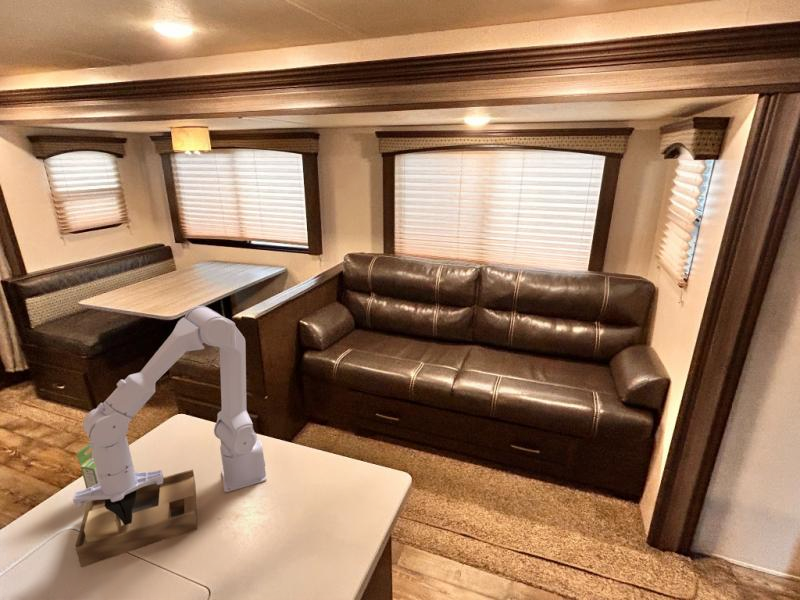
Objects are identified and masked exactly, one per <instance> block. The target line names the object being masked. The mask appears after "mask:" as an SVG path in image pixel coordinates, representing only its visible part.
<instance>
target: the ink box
mask: <svg viewBox="0 0 800 600" xmlns="http://www.w3.org/2000/svg"><path fill="white" fill-rule="evenodd" d="M89 449H91V446H90V443H88V444H87V445H86V446H84V447H83V448H81V449H80V450H79V451H77V452H76V455H77V459H78V463H79V466H80V470H81V474H82V477H83V482H84V485H85V489H87V488H90V487H92V486H94V485H96V484H99V483H100V482H99V478H98V475H97V471H96V467H95V464H94V460H93V456H92V450H91V451H89V452H88V453H87V451H88V450H89ZM86 453H87V454H86ZM85 454H86V455H85Z"/></svg>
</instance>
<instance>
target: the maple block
mask: <svg viewBox="0 0 800 600" xmlns="http://www.w3.org/2000/svg"><path fill="white" fill-rule="evenodd" d="M121 525H122V521H121V519H120V518H119V517H118V516H117V515H116V514H115V513H113V512H112V511H110V510H108V509H106V508H105V507H102V508H99V509H95V510H92V511H89V513H88V517H87V521H86V524H85V528H84V532H85V536H86V539H87V543H92V542H95V541H98V540H101V539H105V538H108V537H111V536H114V535H118V534H120V531H121Z"/></svg>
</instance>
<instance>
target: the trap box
mask: <svg viewBox="0 0 800 600" xmlns="http://www.w3.org/2000/svg"><path fill="white" fill-rule="evenodd" d="M194 474H195V473H194V469H190V470H185V471H181V472H178V473H174V474H171V475H167V476H163V483H162V484H159V485H157V483H155V484H151V485H148V486H144V487H141V488H139V489H137V494H136V499H135V502H134V505H133V508H132V515H133V517H132V523H130V524H127V525H124V524H123V522H122V525H121V531H120V534H118V535H114V536H111V537H108V538H105V539H101V540H98V541H95V542H92V543H87V539H86V536H85V532H84V528H85V524H86V521H87V517H88V513H89V511H92V510H95V509H99V508H102V507H105V499H102V500H93V501H90V502H86V506H85V510H84V514H83V517H82V520H81V521H82V522H81V524H80V528H79V532H78V535H77V540H76V541H75V549H74V550H75V552H76V555H77V558H78V562H79V565H80V568H84V567H86V566H89V565H93V564H96V563H98V562H102V561H104V560H107V559H111V558H114V557H117V556H119V555H122V554H126V553H129V552H133V551H135V550H139V549H141V548H144V547H148V546H151V545H153V544H156V543H161V542H162V541H165V540H170V539H171V538H175V537H178V536H181V535H184V534H186V533H190V532H194V531H196V530H198V519H197V518H198V515H197V514H198V513H197V511H198V510H197V490H196V489H197V488H196V487H197V485H196V480H195V479H196V478H195V475H194Z"/></svg>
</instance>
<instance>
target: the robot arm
mask: <svg viewBox="0 0 800 600" xmlns="http://www.w3.org/2000/svg"><path fill="white" fill-rule="evenodd" d="M203 344H206V345H208V346H209V347H210V346H211V347H216V348H219V363H220V364H219V368H220V372H219V373H220V395H221V397H220V398H221V401H220V402H221V403H220V404H221V410H220V411H218V413H217V419H216V423H215V425H214V427H213V433H214V435H215V437H216V438H217V439H219V440H220V445H219V448H220V456H221V462H222V470H221V474H222V483H223V491H224V493H229V492H234V491H237V490H239V489H243V488H246V487H249V486H253V485H256V484H259V483H262V482H265V481H267V475H266V474H267V472H266V460H265V456H264V449H263V445H262V440H261V438H260V439H259V438H257V433H256V432H255V430H254V425H253V424H254V423H253V422H252V419H251V417H250V415H249V413H248V410H247V365H246V363H247V359H246V357H247V355H246V354H247V353H246V350H247V349H246V338H245V336H243V333H241V331H240V330H239V329H238V328H237V326H236V323H235V322H234V321H232V320H231V319H229V318H226V316H222V314H220V313H218V312H217V311H215V310H213V309H212V308H211V307H210V308H209V307H207V306H204V305H197V306H194V307H192V308H190V309H189V310H188V311H187V312H186V314H185V315H184V317H182V318H180V319H179V320H178V321H177V323H176V325H175V327H174V329H173V330H172V332H171V333H170V335H169V336H168V337H167V339H165V341H164V342H163V343H162V345H161V346H159V348H158V350H156V352H155V353H154V355H153V356H152V357H151V358H150V359H149V360H148V362H147V363H146V364H145V365H144V367H143V368H142V369H141V371H139V372H136V373H135V372H134V373H132V374H129V375H128V376H127V377H126V378H125V379H120V380H118V382H117V383H116V386H117V387H116V388H115V389H114V390H113V392H112V393H111V394H110V395H109V396H108V397H107V398H106V400H104V402H100V403H99V404H98V405H97V407H96V408H93V409H92V410H90V411H89V412H88V413H87V414H86V415H85V417H84V419H83V422H82V425H81V427H82V429H83V431H84V432H85V434H87V438H88V439H89V441H90V442H89V444H90V446H91V447H90V449H91V451H92V456H93V460H94V464H95V467H96V471H97V475H98V478H99V482H100V483H99V484H96V485H94V486H92V487H90V488H87V489H86V488H85V489H83V490H80V491H76V492H74V495H73V498H72V502H73V504H74V508H79V507H82V506H83V505H84V504H85V503H86V504H87V502H90V501H93V500H102V499H105V508H106V509H108V510H110V511H112V512H113V513H115V514H116V515H117V516H118V517H119V518H120V519H121V521H122V522H123V524H124V525H127V524H130V523H132V517H133V515H132V508H133V505H134V502H135V499H136V494H137V489H139V488H141V487H144V486H148V485H151V484H155V483H157V485H159V484H162V483H163V477H164V474H163V470H162V469H160V470H155V471H141V472H140V471H139V472H136V471H135V466H134V462H133V457H132V454H131V450H130V446H129V441H128V439H127V437H126V436H127V434H128V432H129V424H130V422H132V421H131V420H132V419H133V418H134V417H135V416H136V415H137V413H138V412H139V411H140V410H141V409H142V408H143V407H144V406H145V404H146V403H147V402H148V401H149V400H150V399H151V398H152V396H153V395H154V394H155V393H156V382H157V381H158V380H159V379H161V377H162V376H163V375H164V374H166V372H168V370H169V369H171V368H172V366H173V365H175V363H177V362H178V361H179V359H180V358H182V356H184V354H185V353H187V352H191V351H192V352H193V351H201V350H204V349H205V346H204V345H203Z"/></svg>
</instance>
